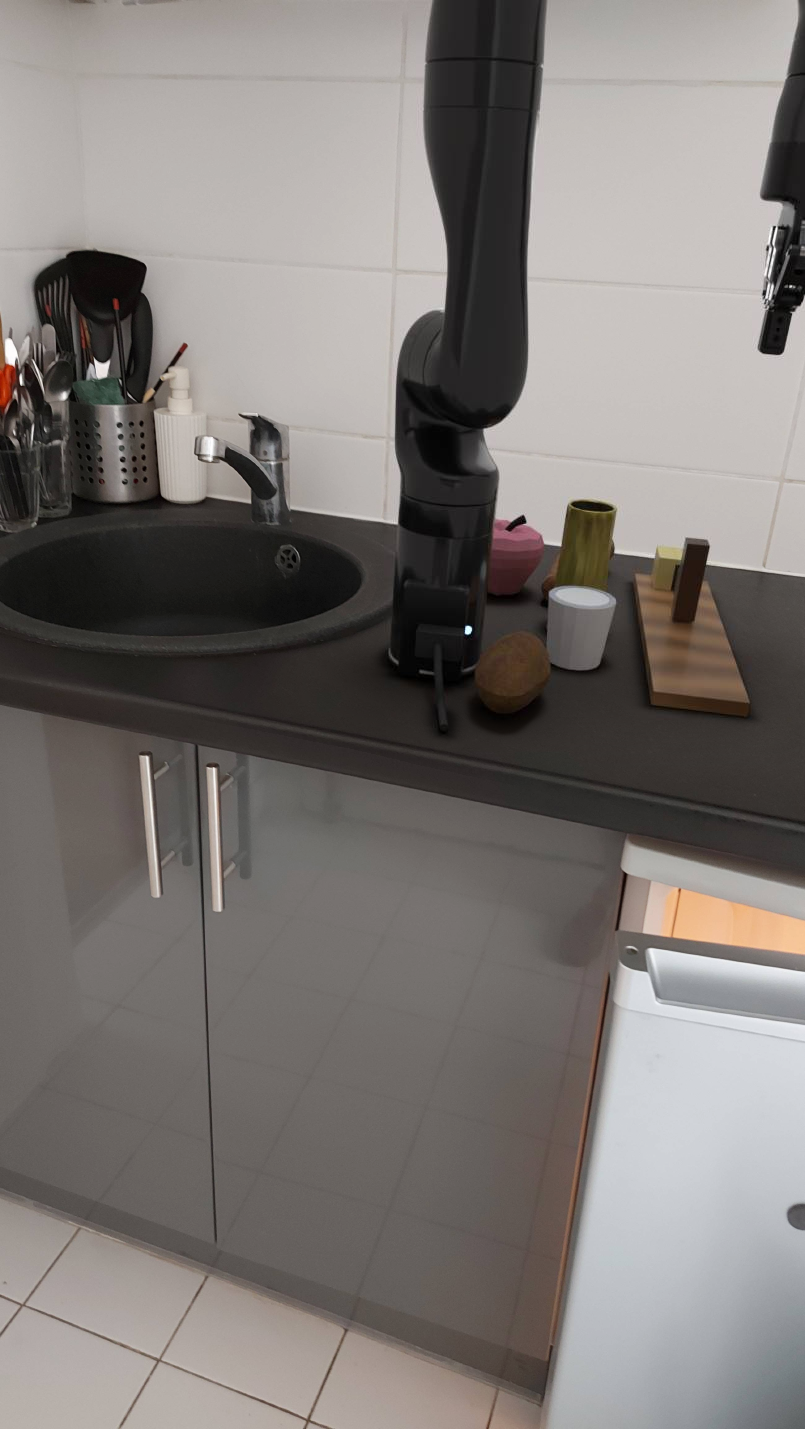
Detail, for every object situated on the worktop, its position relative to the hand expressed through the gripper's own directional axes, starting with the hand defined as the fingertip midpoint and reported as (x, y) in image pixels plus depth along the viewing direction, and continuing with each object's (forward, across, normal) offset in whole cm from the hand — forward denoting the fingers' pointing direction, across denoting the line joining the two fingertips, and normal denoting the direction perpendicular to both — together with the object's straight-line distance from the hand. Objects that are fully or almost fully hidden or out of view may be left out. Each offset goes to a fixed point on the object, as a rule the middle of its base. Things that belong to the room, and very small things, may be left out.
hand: (769, 353), depth 94 cm
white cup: (+31, +5, -14) cm, 35 cm away
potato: (+31, +18, -20) cm, 41 cm away
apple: (+31, -13, -23) cm, 41 cm away
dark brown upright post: (+29, -15, -2) cm, 33 cm away
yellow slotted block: (+30, -19, -2) cm, 35 cm away
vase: (+31, -3, -14) cm, 34 cm away
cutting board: (+31, -4, -2) cm, 31 cm away
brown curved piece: (+31, -18, -14) cm, 39 cm away
